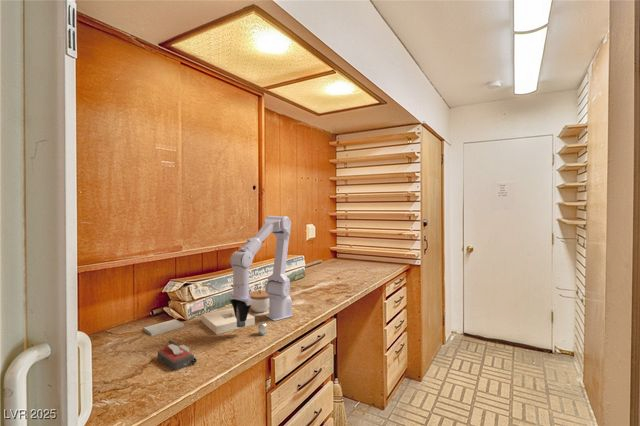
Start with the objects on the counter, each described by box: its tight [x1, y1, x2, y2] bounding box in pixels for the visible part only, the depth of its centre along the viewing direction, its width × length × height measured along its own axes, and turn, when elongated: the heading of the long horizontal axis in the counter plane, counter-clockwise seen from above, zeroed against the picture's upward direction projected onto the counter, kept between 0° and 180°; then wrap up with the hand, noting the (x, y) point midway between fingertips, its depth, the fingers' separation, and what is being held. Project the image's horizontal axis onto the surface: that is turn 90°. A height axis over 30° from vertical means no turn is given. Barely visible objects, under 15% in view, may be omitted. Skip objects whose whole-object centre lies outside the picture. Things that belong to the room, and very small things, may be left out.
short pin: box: [257, 321, 268, 337], centre depth 121 cm, size 3×3×4 cm
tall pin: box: [237, 307, 245, 328], centre depth 120 cm, size 3×3×8 cm
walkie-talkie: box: [157, 339, 198, 372], centre depth 103 cm, size 9×4×20 cm
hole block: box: [201, 307, 256, 335], centre depth 131 cm, size 16×16×3 cm
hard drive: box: [142, 318, 185, 337], centre depth 125 cm, size 2×8×12 cm
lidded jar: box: [249, 289, 269, 313], centre depth 147 cm, size 11×11×9 cm
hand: (240, 319), depth 120 cm, fingers closed on tall pin, 3 cm apart
